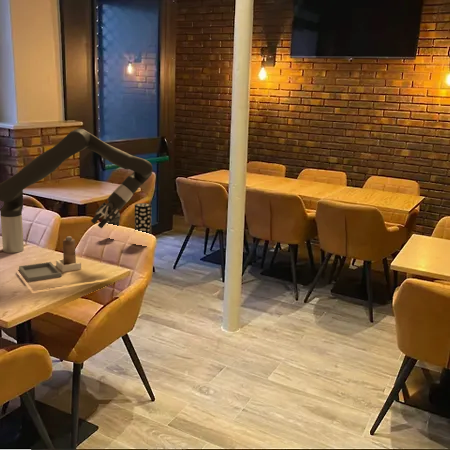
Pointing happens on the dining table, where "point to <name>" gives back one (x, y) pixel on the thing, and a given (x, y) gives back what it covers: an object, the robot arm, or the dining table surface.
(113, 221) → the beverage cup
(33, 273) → the serving tray
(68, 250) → the pepper mill
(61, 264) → the caddy slot
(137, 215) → the spotted tube
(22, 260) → the dining table surface
